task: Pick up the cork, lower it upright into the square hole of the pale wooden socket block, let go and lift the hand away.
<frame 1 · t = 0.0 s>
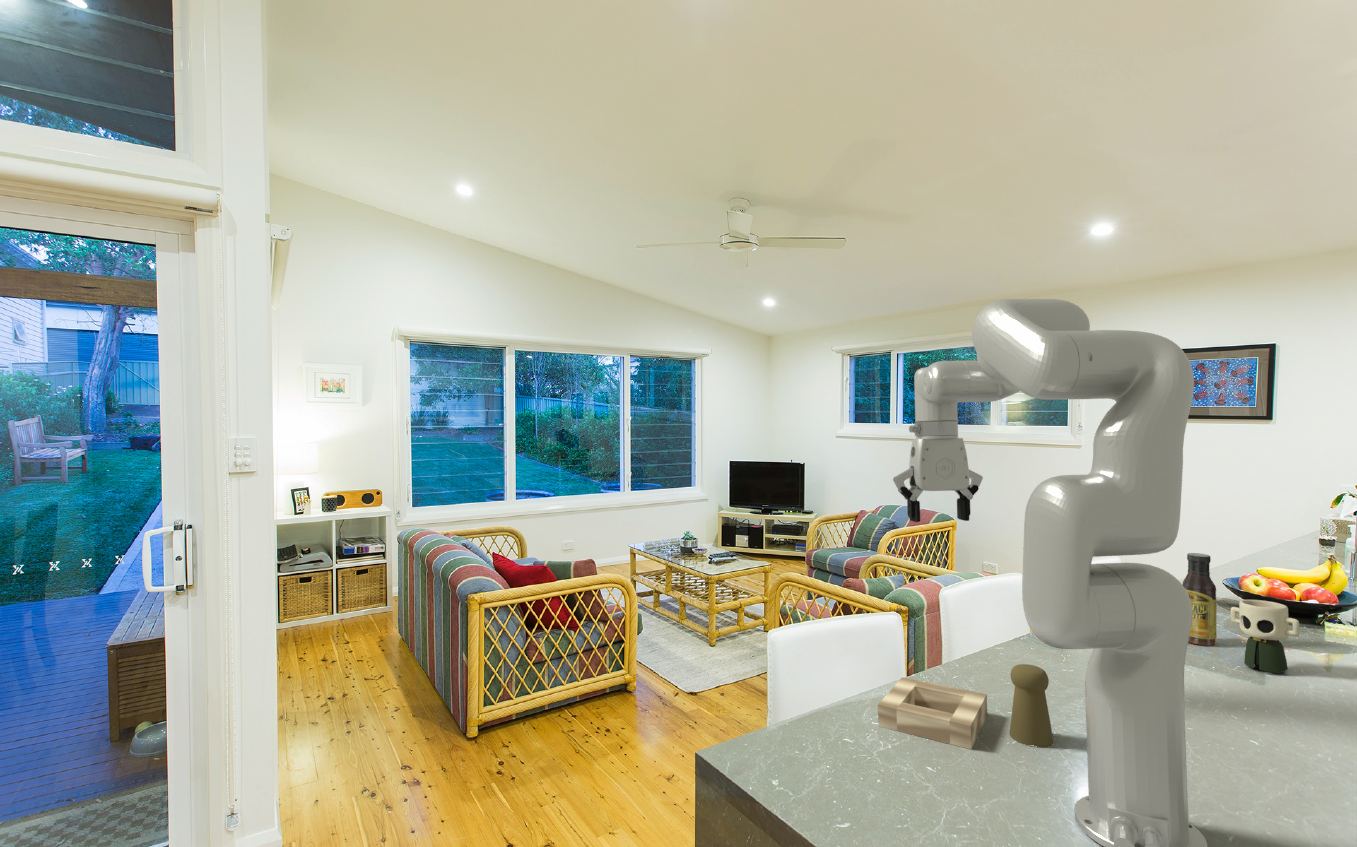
hand: (939, 520, 119), 31 cm above the counter, tool pointing down, fingers open, 9 cm apart
socket block: (933, 720, 104), on the counter
cork: (1031, 739, 97), on the counter
sauce bottle: (1199, 643, 140), on the counter
character mug: (1265, 670, 124), on the counter
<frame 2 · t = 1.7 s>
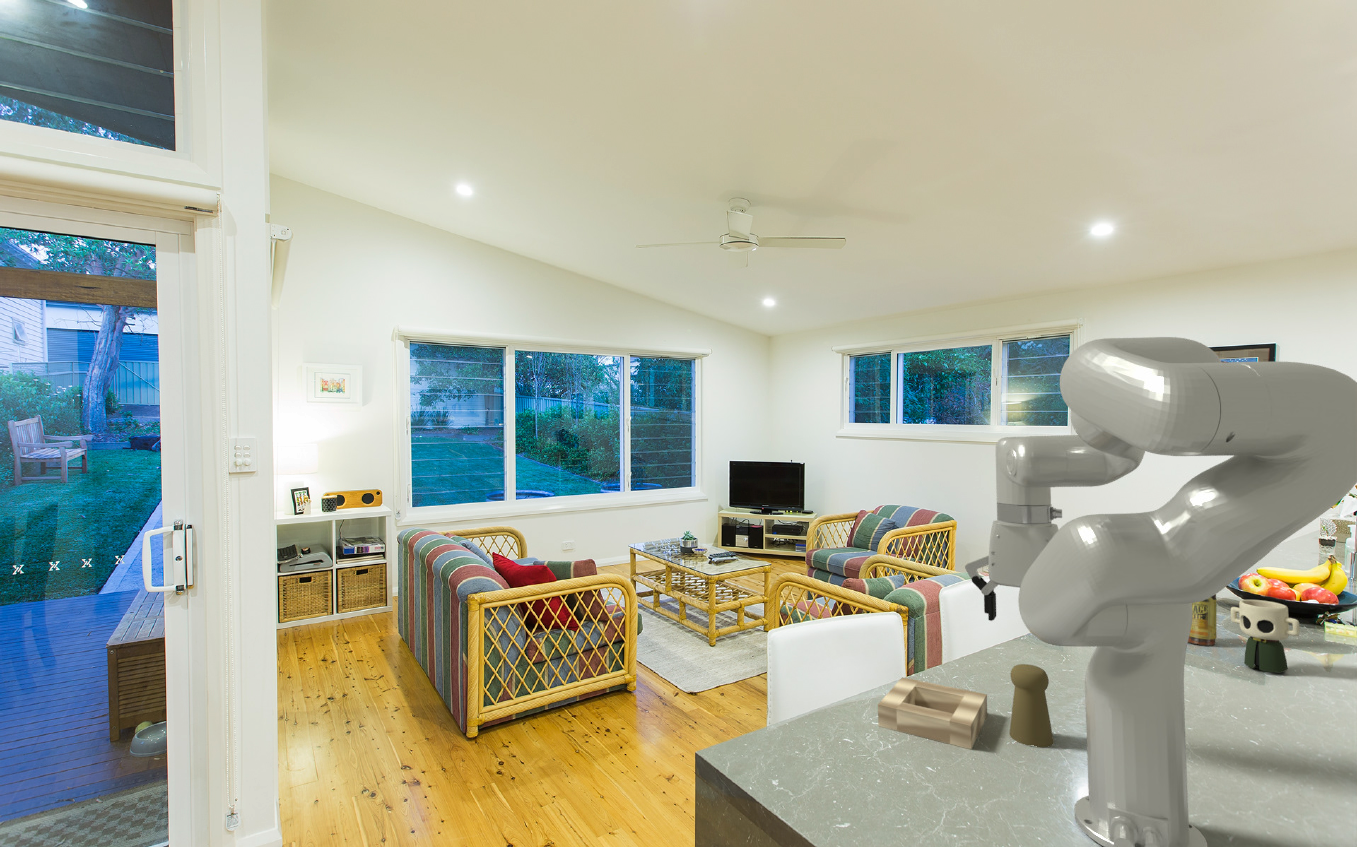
hand: (1026, 623, 98), 18 cm above the counter, tool pointing down, fingers open, 9 cm apart
nothing on the counter moved.
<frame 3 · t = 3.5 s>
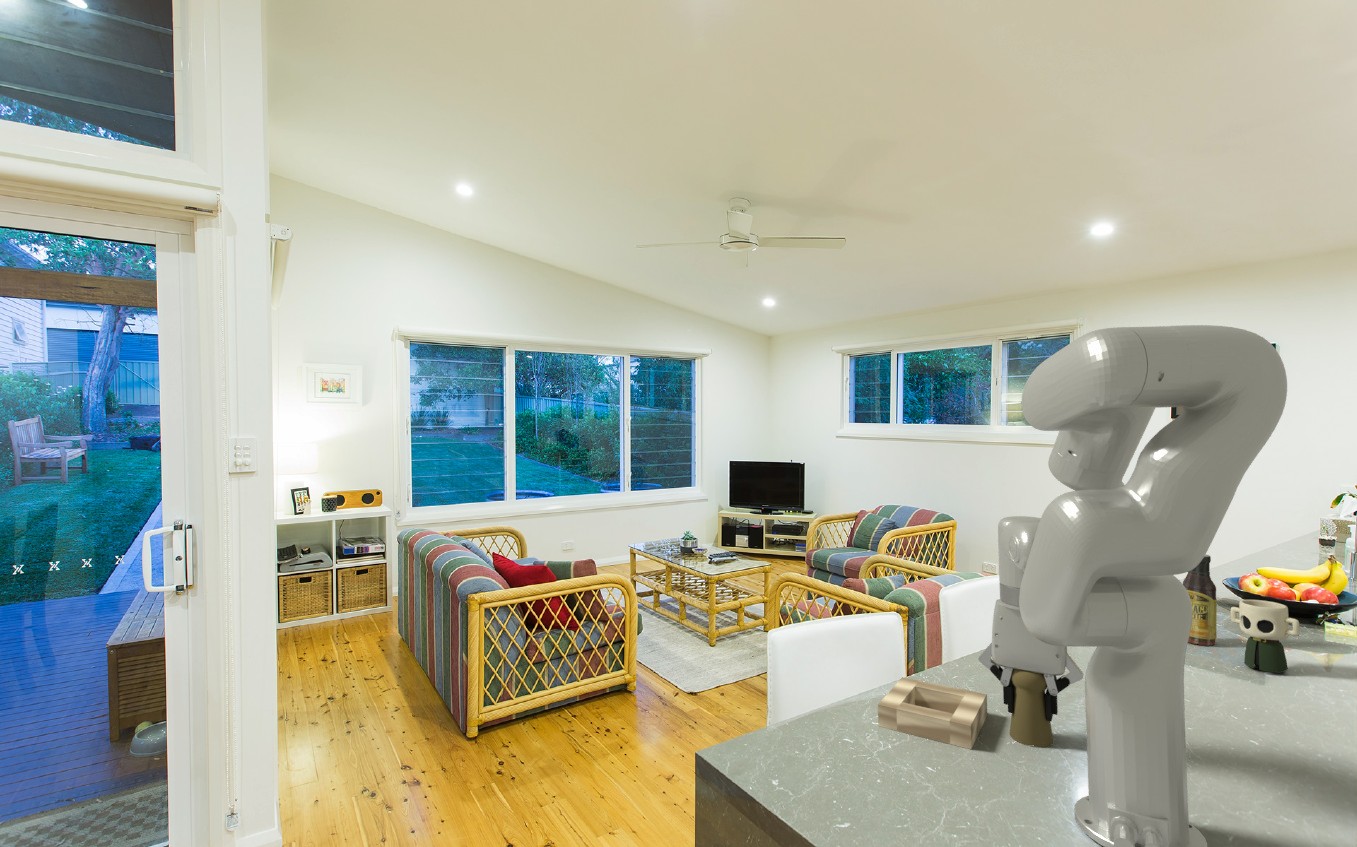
hand: (1030, 712, 97), 4 cm above the counter, tool pointing down, fingers closed on cork, 4 cm apart
cork: (1031, 738, 97), on the counter, touching gripper
everything else where it was.
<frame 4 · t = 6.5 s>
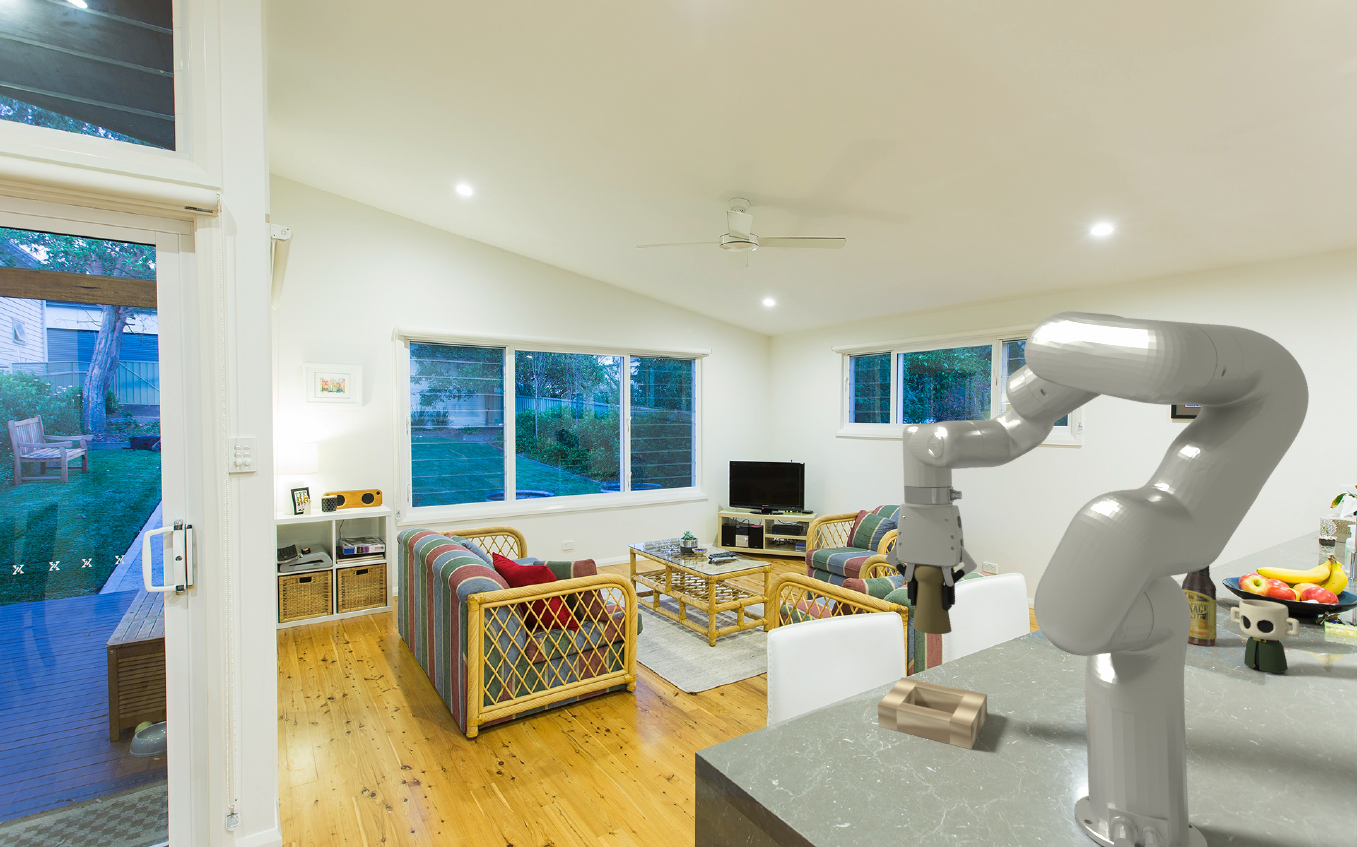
hand: (931, 605, 104), 19 cm above the counter, tool pointing down, fingers closed on cork, 4 cm apart
cork: (932, 629, 104), point 15 cm above the counter, touching gripper
everything else where it was.
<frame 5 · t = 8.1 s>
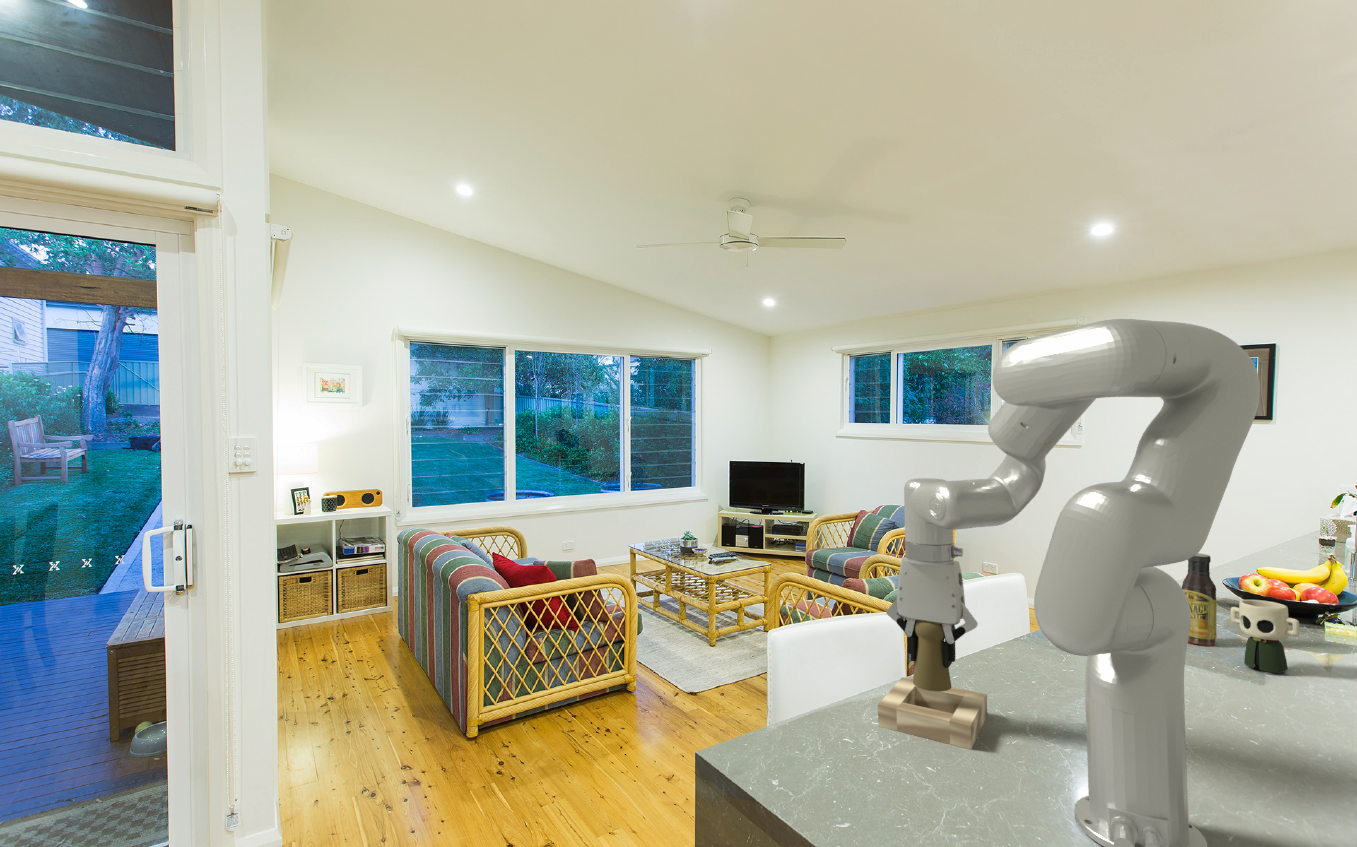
hand: (931, 660, 104), 10 cm above the counter, tool pointing down, fingers closed on cork, 4 cm apart
cork: (931, 685, 104), point 6 cm above the counter, touching gripper
everything else where it was.
when the fingers open (5 cm above the counter, at t = 9.5 s): cork stays where it is, resting in socket block.
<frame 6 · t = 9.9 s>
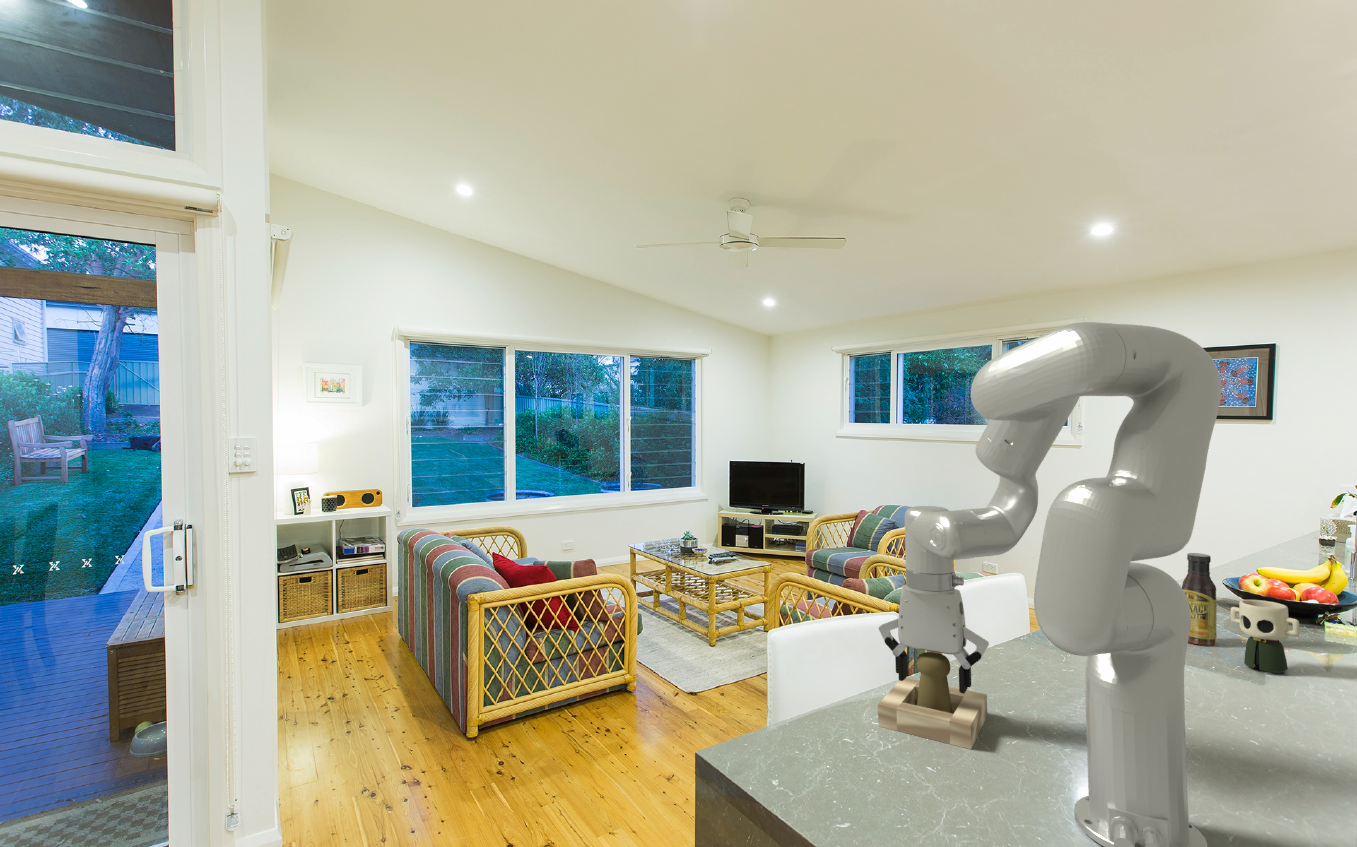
hand: (932, 684, 104), 6 cm above the counter, tool pointing down, fingers open, 9 cm apart
cork: (934, 722, 103), resting in socket block
everything else where it was.
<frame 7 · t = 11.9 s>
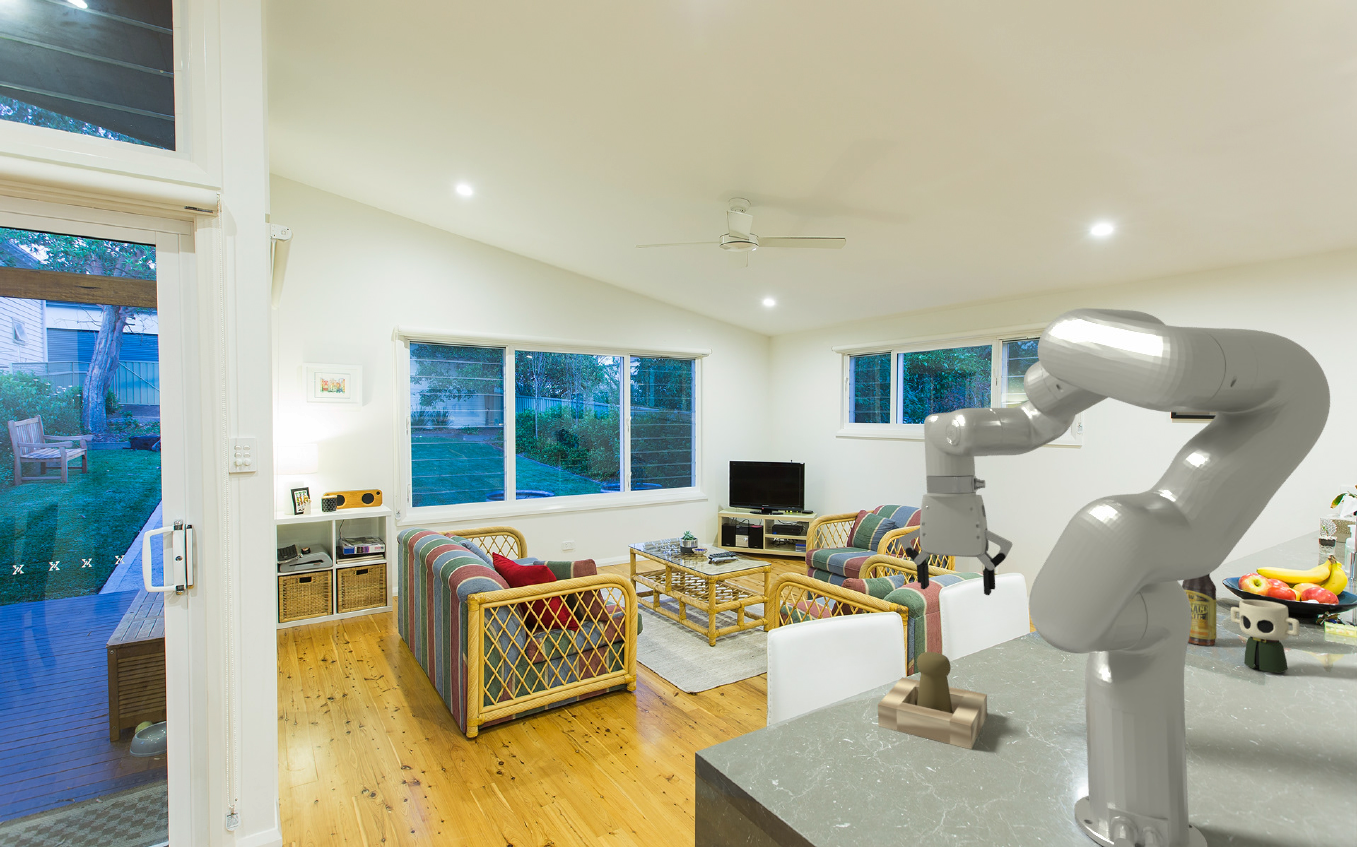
hand: (955, 590, 103), 22 cm above the counter, tool pointing down, fingers open, 9 cm apart
nothing on the counter moved.
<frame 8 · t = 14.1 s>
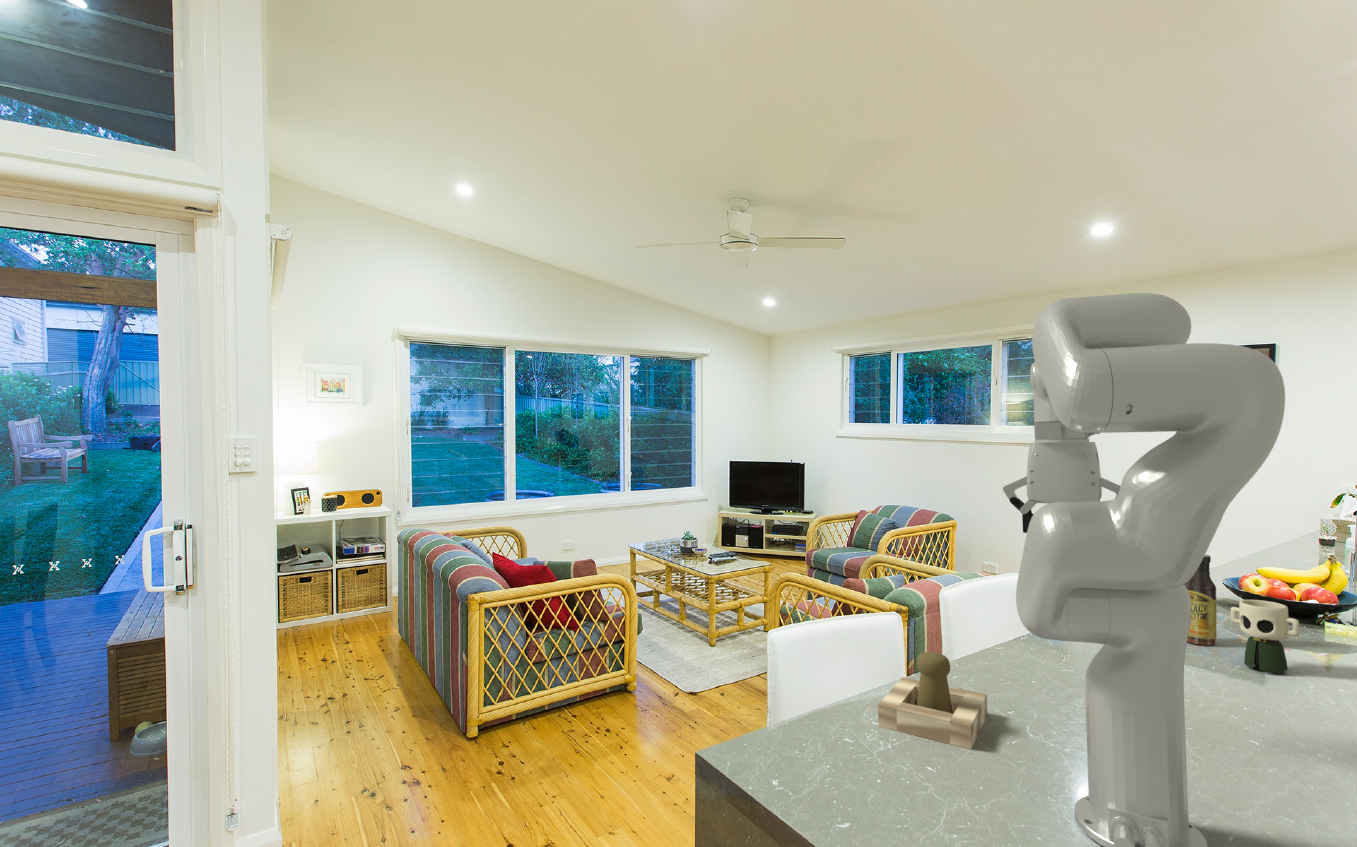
hand: (1064, 539, 100), 30 cm above the counter, tool pointing down, fingers open, 9 cm apart
nothing on the counter moved.
at the end: cork 0.2 cm off-centre on the socket block, point 0.0 cm above the socket block's base; cork tilted 0°; the gripper is holding nothing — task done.
